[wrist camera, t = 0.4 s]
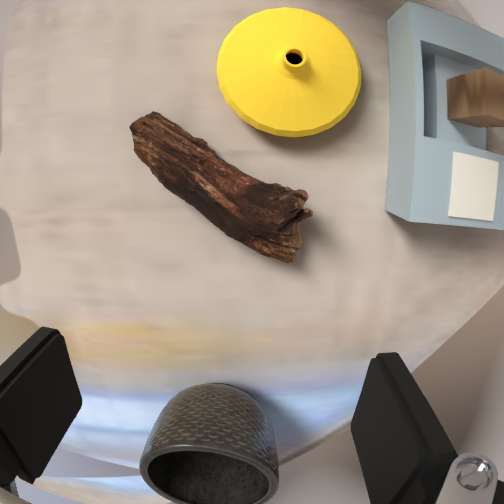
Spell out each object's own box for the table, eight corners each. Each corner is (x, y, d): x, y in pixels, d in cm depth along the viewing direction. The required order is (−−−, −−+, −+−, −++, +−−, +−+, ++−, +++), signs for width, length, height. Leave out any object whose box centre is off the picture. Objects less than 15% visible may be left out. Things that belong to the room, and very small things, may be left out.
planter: (219, 339, 43) (201, 424, 27) (297, 406, 46) (307, 488, 31) (144, 394, 46) (113, 468, 31) (220, 448, 50) (211, 521, 34)
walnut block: (446, 79, 28) (485, 67, 20) (477, 89, 28) (517, 81, 20) (447, 119, 30) (488, 114, 22) (478, 127, 30) (519, 126, 22)
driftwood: (322, 201, 37) (339, 212, 29) (287, 258, 39) (294, 283, 31) (155, 110, 34) (130, 99, 27) (125, 170, 36) (95, 174, 29)
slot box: (386, 21, 30) (408, -1, 23) (486, 54, 30) (516, 44, 23) (385, 210, 37) (410, 222, 30) (485, 219, 37) (516, 232, 30)
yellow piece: (293, 166, 36) (301, 169, 29) (192, 80, 33) (177, 64, 26) (379, 78, 32) (402, 65, 26) (281, -4, 30) (285, -32, 23)
